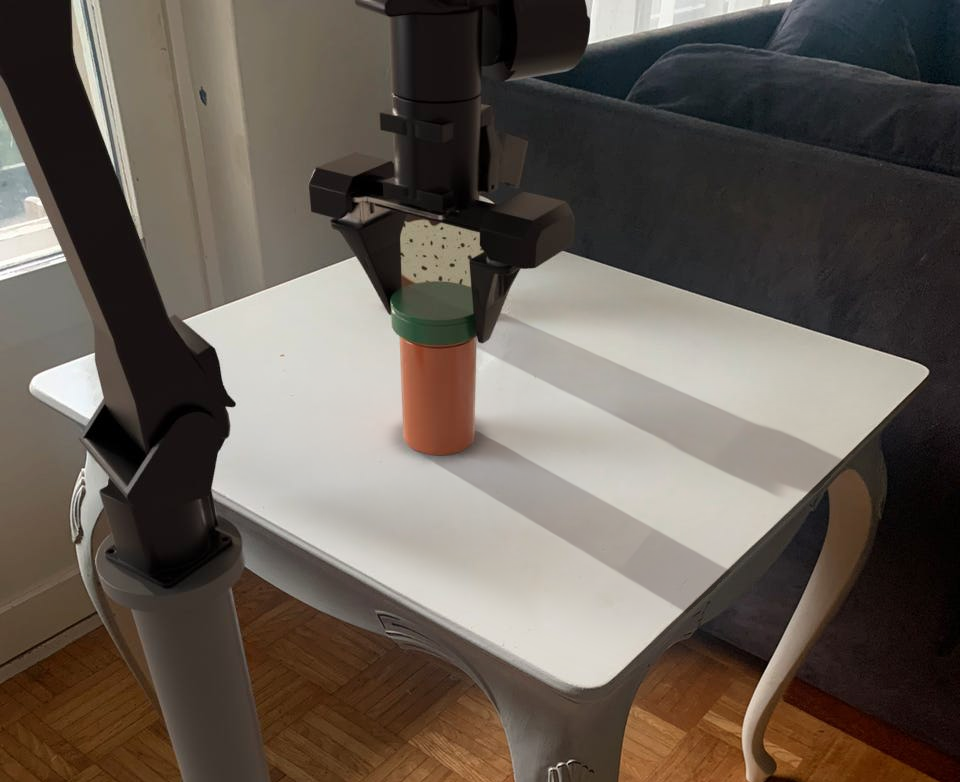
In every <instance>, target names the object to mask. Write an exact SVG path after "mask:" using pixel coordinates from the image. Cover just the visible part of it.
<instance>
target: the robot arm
mask: <svg viewBox="0 0 960 782" xmlns="http://www.w3.org/2000/svg"><path fill="white" fill-rule="evenodd" d="M354 4H355V5H356V7H357V8H359V9H363V10H365V11H369V12H372V13H375V14H377V15H380V16H384V17H386V18H388V39H389V40H388V41H389V64H390V65H389V66H390V67H389V69H390V90H391V91H390V92H391V108H389V109H385V110H383V111H380V112H379V128H380V129H379V130H380V131H382V132H389V133H392V142H393V143H392V145H393V146H392V149H393V161H392V160H390V159H385V158H381V157H377V156H372V155H368V154H363V153H361V152H360V153H359V152H352V153H349V154H347V155H344V156H341V157H339V158H336V159H333V160H331V161H328V162H326V163H323V164H321V165H317V166H316V167H314V170H313V171H312V173H311V176H310V179H309V181H308V183H307V188H308V189H307V190H308V199H309V210H310V212H311V213H314V214H318V215H320V216H325V217H329V218H331V219H330V221H329V223H330V228H332V229H333V230H336V231H338V232H339V233H340V234H341V236H342V238H343V239H344V241H345V242H346V243H347V246H348V247H349V248H350V250H351V251H352V253H353V254H354V256H355V258H356V259H357V260H358V262H359V263H360V265H361V267H362V269H363V270H364V273H365V274H366V275H367V278H368V279H369V282H370V283H371V285H372V287H373V289H374V290H375V292H376V294H377V296H378V298H379V300H380V301H381V304H382V305H383V307H384V308H385V310H386V312H387V314H388V315H389V316H391V297H392V295H393V294H394V293H395V292H396V291H398V290H399V289H401V288H402V274H401V243H400V236H401V231H402V228H403V225H404V222H405V219H406V216H407V214H409V215H413V216H417V217H421V218H425V219H429V220H433V221H436V222H440V223H444V224H448V225H452V226H456V227H460V228H464V229H467V230H471V231H475V232H479V233H480V247H481V248H482V250H483V251H484V252H482V253H481V254H479V255H477V256H475V257H474V258H472V259H470V260H469V265H470V277H471V289H472V301H473V313H474V325H475V330H476V335H477V342H478V343H480V344H485V343H487V342H488V341H489V340H490V339H491V338H492V334H493V332H494V330H495V327H496V324H497V322H498V319H499V317H500V315H501V312H502V309H503V307H504V304H505V302H506V301H507V297H508V295H509V293H510V290H511V288H512V285H513V283H514V282H515V279H516V278H517V277H518V275H519V273H520V271H521V269H522V270H529V269H530V270H531V269H536V268H538V267H539V266H541V265H542V264H544V263H546V262H548V261H549V260H550V259H553V258H554V257H555V256H557V255H559V254H560V253H562V252H563V251H565V250H566V249H569V248H570V247H572V246H573V245H574V238H575V237H574V235H575V226H576V225H575V224H576V219H575V216H574V213H573V211H572V209H571V207H570V206H569V203H568V201H566V200H561V199H557V198H553V197H548V196H544V195H540V194H536V193H531V192H527V191H521V192H519V193H517V194H515V195H513V196H511V197H509V198H508V199H506V200H504V201H502V202H500V203H498V204H497V203H494V202H493V203H494V204H493V203H489V202H485V201H480V200H479V196H480V194H483V193H486V194H491V193H493V192H495V191H497V190H498V189H499V182H501V183H503V184H504V186H505V187H508V188H514V189H519V187H520V182H521V177H522V175H523V174H522V173H523V169H524V164H525V160H526V159H525V158H526V154H527V149H528V144H529V141H528V140H525V139H522V138H519V137H516V136H514V135H511V134H507V133H505V132H500V131H497V130H495V125H494V122H495V116H494V113H493V106H492V105H488V104H483V103H482V73H483V75H484V76H485V77H487V78H488V79H489V80H490V81H492V82H495V83H504V82H510V81H516V80H522V79H529V78H534V77H540V76H547V75H552V74H558V73H564V72H565V73H566V72H569V71H570V70H572V69H574V68H575V67H576V66H577V65H578V64H579V63H580V61H581V60H582V58H583V57H584V55H585V52H586V50H587V47H588V44H589V40H590V33H591V18H590V17H589V14H588V5H587V3H586V0H354ZM72 8H73V5H72V0H0V110H1V112H2V114H3V116H4V120H5V122H6V124H7V126H8V128H9V131H10V133H11V135H12V137H13V139H14V142H15V145H16V147H17V149H18V152H19V153H20V156H21V159H22V161H23V164H24V165H25V168H26V170H27V172H28V175H29V177H30V179H31V181H32V184H33V187H34V189H35V191H36V193H37V195H38V198H39V200H40V202H41V205H42V207H43V210H44V212H45V214H46V216H47V218H48V221H49V223H50V225H51V228H52V231H53V233H54V235H55V238H56V239H57V242H58V244H59V246H60V249H61V251H62V253H63V256H64V258H65V261H66V263H67V265H68V267H69V270H70V272H71V275H72V276H73V279H74V281H75V284H76V286H77V288H78V291H79V293H80V296H81V297H82V300H83V303H84V305H85V307H86V310H87V311H88V314H89V317H90V318H91V321H92V322H91V323H92V326H93V333H94V334H93V339H94V341H93V342H94V364H95V367H96V372H97V376H98V380H99V385H100V388H101V392H102V396H103V398H102V399H101V401H100V403H99V404H98V406H97V408H96V410H95V411H94V413H93V414H92V416H91V417H90V419H89V421H88V422H87V423H86V425H85V427H84V428H83V430H82V432H81V433H80V434H79V436H78V438H79V439H78V441H79V443H80V444H81V445H82V446H83V448H84V449H85V450H86V451H87V453H88V454H89V456H91V457H92V459H93V460H94V461H95V463H97V464H98V466H99V467H100V468H101V469H102V470H103V472H104V473H105V474H106V475H107V476H108V478H107V481H106V485H105V486H103V487H102V488H100V489H99V490H98V493H99V497H100V500H101V503H102V506H103V510H104V513H105V516H106V519H107V523H108V527H109V529H110V534H111V533H112V537H113V540H114V543H115V544H113V545H112V546H110V547H109V548H107V549H106V550H105V551H104V555H105V558H106V559H107V560H109V561H111V562H113V563H115V564H117V565H119V566H121V567H123V568H125V569H127V570H128V571H130V572H132V573H134V574H136V575H138V576H140V577H142V578H144V579H146V580H148V581H150V582H152V583H154V584H156V585H158V586H160V587H162V588H164V589H169V588H172V587H174V586H175V585H177V584H178V583H180V582H181V581H183V580H184V579H185V578H187V577H188V576H190V575H191V574H192V573H194V572H195V571H197V570H198V569H200V568H201V567H202V566H204V565H205V564H207V563H208V562H209V561H211V560H212V559H214V558H215V557H216V556H218V555H219V554H221V553H222V552H224V551H225V550H226V549H228V548H229V547H231V546H232V544H233V541H232V537H231V536H229V535H227V534H225V533H222V532H220V531H218V530H216V529H215V528H216V527H217V526H218V519H217V515H218V514H217V510H216V505H215V500H214V495H213V490H212V488H213V483H214V477H215V472H216V465H217V461H218V454H219V452H220V451H221V449H222V447H223V446H224V443H225V441H226V440H227V439H228V438H229V437H230V434H231V420H230V419H231V418H230V414H229V411H228V409H227V408H235V407H236V406H237V402H236V401H235V400H234V399H233V398H232V396H230V394H229V393H228V391H227V388H226V387H225V385H224V382H223V376H222V370H221V362H220V359H219V357H218V353H217V350H216V348H215V347H214V346H213V345H212V344H210V343H209V342H208V341H207V340H206V339H205V338H204V337H202V336H201V335H200V334H199V333H198V332H197V331H195V330H194V329H193V328H192V327H191V326H190V325H188V324H187V323H186V322H185V321H183V319H182V318H180V317H179V316H178V315H176V314H173V315H171V316H170V317H169V313H168V312H167V311H168V310H167V309H166V306H165V304H164V301H163V298H162V294H161V292H160V290H159V287H158V284H157V281H156V279H155V276H154V274H153V273H154V272H153V270H152V268H151V265H150V263H149V259H148V257H147V254H146V252H145V249H144V246H143V243H142V240H141V238H140V235H139V232H138V229H137V227H136V224H135V221H134V218H133V216H132V213H131V211H130V208H129V204H128V201H127V199H126V196H125V194H124V191H123V188H122V185H121V183H120V180H119V177H118V175H117V172H116V169H115V166H114V163H113V161H112V157H111V156H110V153H109V150H108V148H107V145H106V142H105V139H104V137H103V134H102V131H101V128H100V125H99V123H98V120H97V118H96V117H97V116H96V115H95V112H94V110H93V106H92V104H91V103H92V102H91V101H90V98H89V95H88V93H87V90H86V87H85V85H84V81H83V78H82V76H81V74H80V70H79V68H78V64H77V61H76V57H75V51H74V37H73V36H74V34H73V9H72ZM458 211H459V212H458ZM216 514H217V515H216Z"/></svg>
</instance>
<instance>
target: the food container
mask: <svg viewBox="0 0 960 782" xmlns="http://www.w3.org/2000/svg"><path fill="white" fill-rule="evenodd" d="M479 200H480V201H485V202H489V203H493V204H495V203H494V202H493V201H492V200H490V199H489V198H487V197H484V196H482V195H479ZM458 212H459V211H458ZM400 243H401V274H402V288H403V287H405V286H408V285H412V284H416V283H421V282H431V281H443V282H453V283H458V284H462V285H466V286H469V287H471V277H470V265H469V260H470V259H472V258H474V257H475V256H477V255H479V254H481V253H482V252H484V251H483V250H482V248H481V247H480V233H479V232H475V231H471V230H467V229H464V228H460V227H456V226H452V225H448V224H444V223H440V222H436V221H433V220H429V219H425V218H421V217H417V216H413V215H409V214H407V216H406V219H405V222H404V225H403V228H402V231H401V236H400Z"/></svg>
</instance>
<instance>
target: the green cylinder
mask: <svg viewBox="0 0 960 782" xmlns="http://www.w3.org/2000/svg"><path fill="white" fill-rule="evenodd" d="M390 321H391V328H392V330H393V332H394V333H395V334H396V335H397V336H400V337H402V338H404V339H406V340H409V341H411V342H415V343H419V344H425V345H452V344H459V343H462V342H466V341H469V340H471V339H473V338H475V337H477V335H476V330H475V325H474V313H473V301H472V289H471V287H469V286H466V285H462V284H458V283H453V282H443V281H431V282H421V283H416V284H412V285H408V286H405V287H403V288H401V289H399V290H398V291H396V292H395V293H394V294H393V295H392V297H391V315H390ZM400 337H399V338H400Z"/></svg>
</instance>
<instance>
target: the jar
mask: <svg viewBox="0 0 960 782" xmlns="http://www.w3.org/2000/svg"><path fill="white" fill-rule="evenodd" d="M398 336H399V335H398ZM398 338H399V361H400V363H399V364H400V382H401V383H400V384H401V388H400V389H401V413H402V417H401V418H402V438H403V440H404V442H405V445H407V447H409V448H411V449H412V450H414V451H416V452H419V453H421V454H424V455H425V454H426V455H433V456H445V455H446V456H447V455H453V454H456V453H460V452H462V451H464V450H466V449H467V448H469V447H470V446H471V445H472V444H473V442H474V440H475V437H476V435H475V434H476V430H475V429H476V390H477V389H476V387H477V385H476V384H477V344H478V343H477V342H478V339H477V337H475V338H473V339H471V340H469V341H466V342H462V343H459V344H452V345H425V344H419V343H415V342H411V341H409V340H406V339H404V338H402V337H400V336H399V337H398Z"/></svg>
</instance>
